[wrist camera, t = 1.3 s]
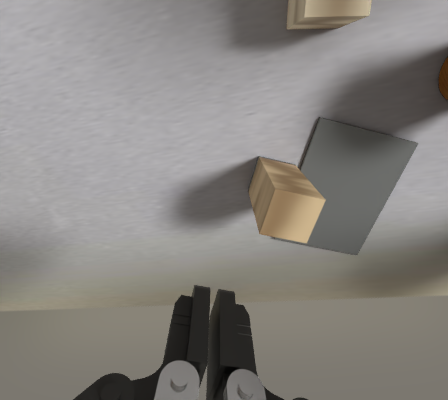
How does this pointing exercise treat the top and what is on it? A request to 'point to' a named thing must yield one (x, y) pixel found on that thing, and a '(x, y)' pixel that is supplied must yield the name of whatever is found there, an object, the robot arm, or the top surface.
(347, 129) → the mat
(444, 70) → the disposable coffee cup
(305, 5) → the maple block
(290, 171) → the oak block
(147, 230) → the top surface
